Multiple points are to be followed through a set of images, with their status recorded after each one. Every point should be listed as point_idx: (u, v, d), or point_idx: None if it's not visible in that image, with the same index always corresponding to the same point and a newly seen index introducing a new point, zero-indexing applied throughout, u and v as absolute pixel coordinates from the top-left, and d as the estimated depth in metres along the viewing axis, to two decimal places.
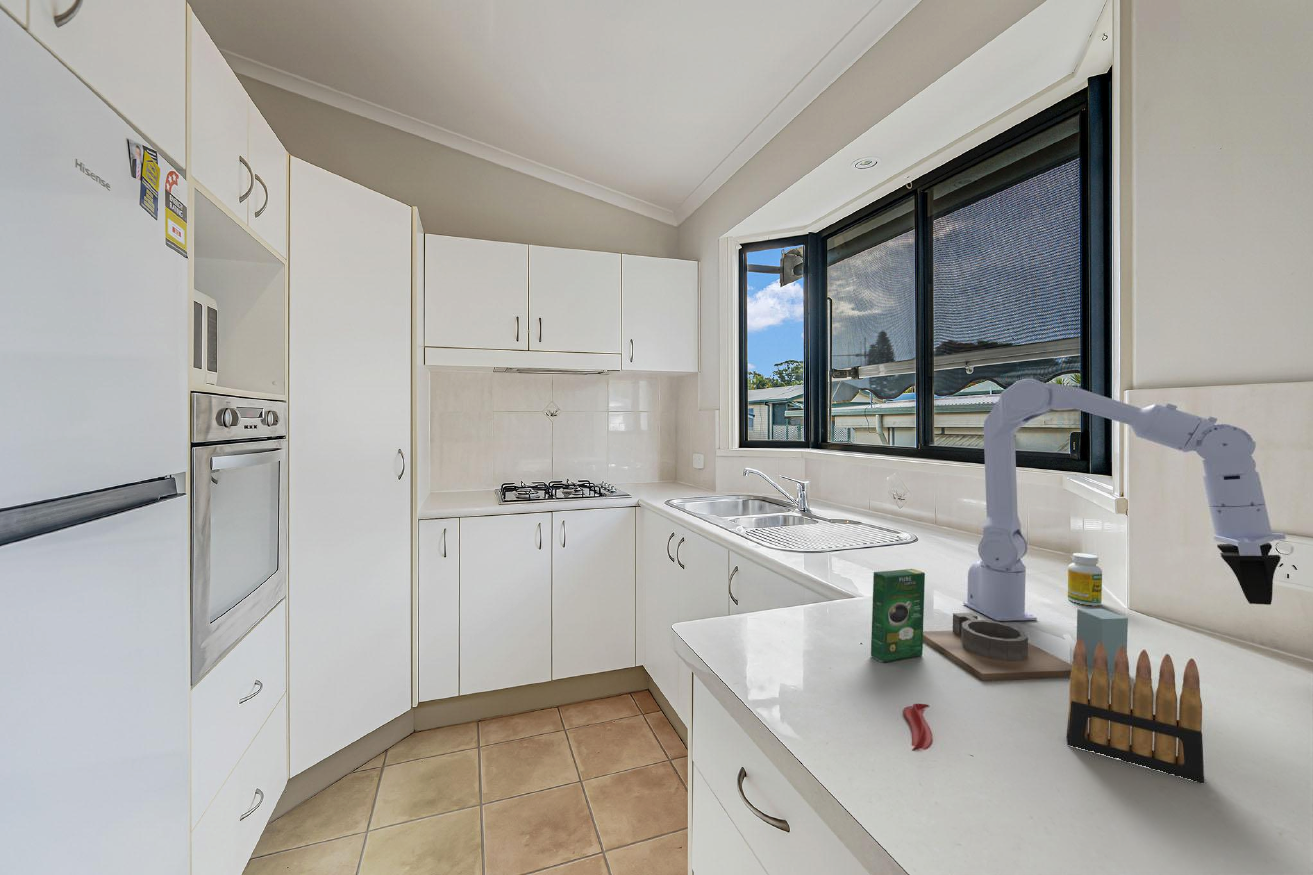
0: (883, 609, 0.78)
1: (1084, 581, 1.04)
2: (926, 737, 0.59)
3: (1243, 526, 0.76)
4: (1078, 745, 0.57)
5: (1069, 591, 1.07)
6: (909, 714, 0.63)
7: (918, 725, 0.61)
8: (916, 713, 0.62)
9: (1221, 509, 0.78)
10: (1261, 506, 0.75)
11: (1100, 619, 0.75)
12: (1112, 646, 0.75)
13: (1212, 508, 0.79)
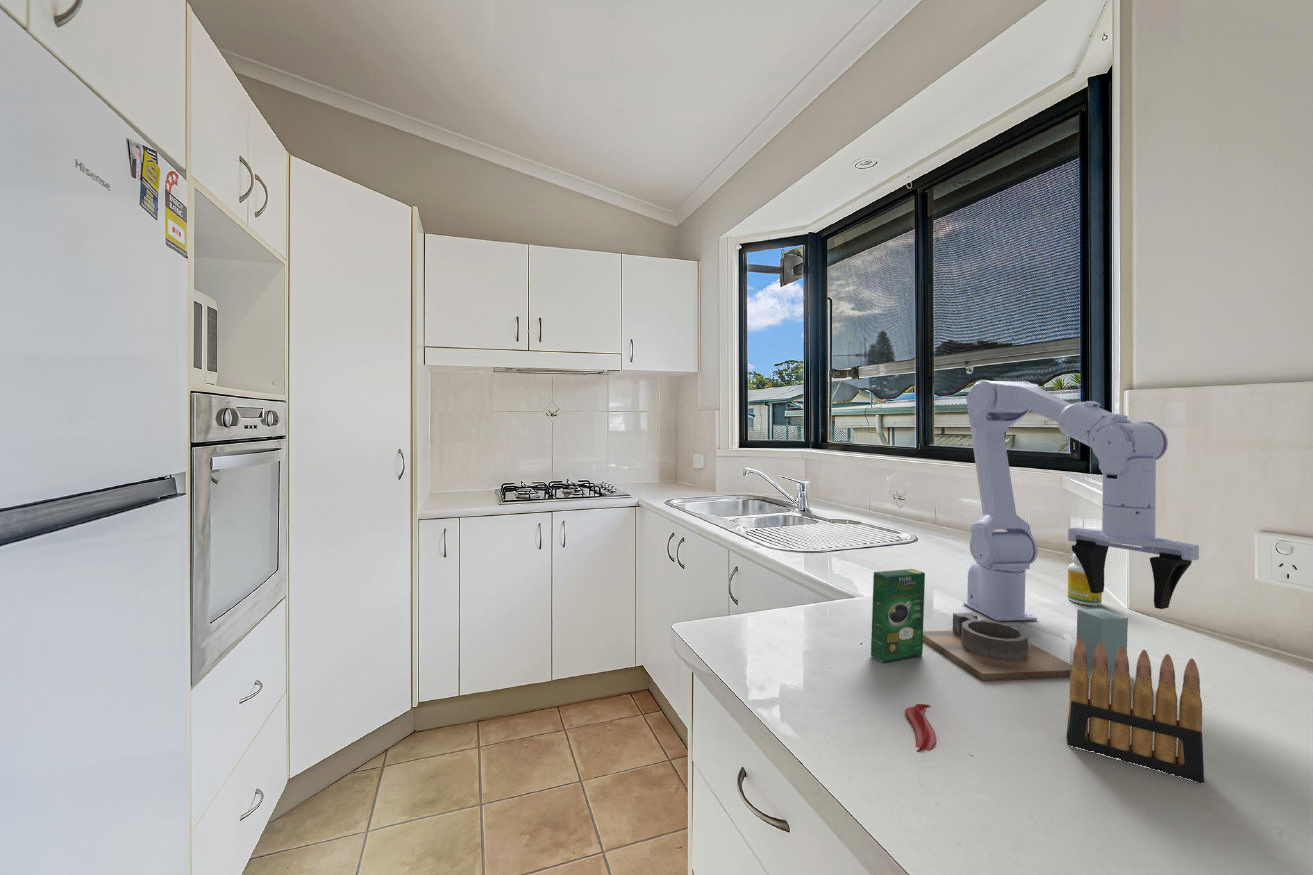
0: (883, 609, 0.78)
1: (1084, 581, 1.04)
2: (930, 738, 0.59)
3: None
4: (1078, 745, 0.57)
5: (1069, 591, 1.07)
6: (911, 715, 0.63)
7: (921, 725, 0.61)
8: (919, 714, 0.62)
9: None
10: (1105, 506, 0.76)
11: (1100, 619, 0.75)
12: (1112, 646, 0.75)
13: None
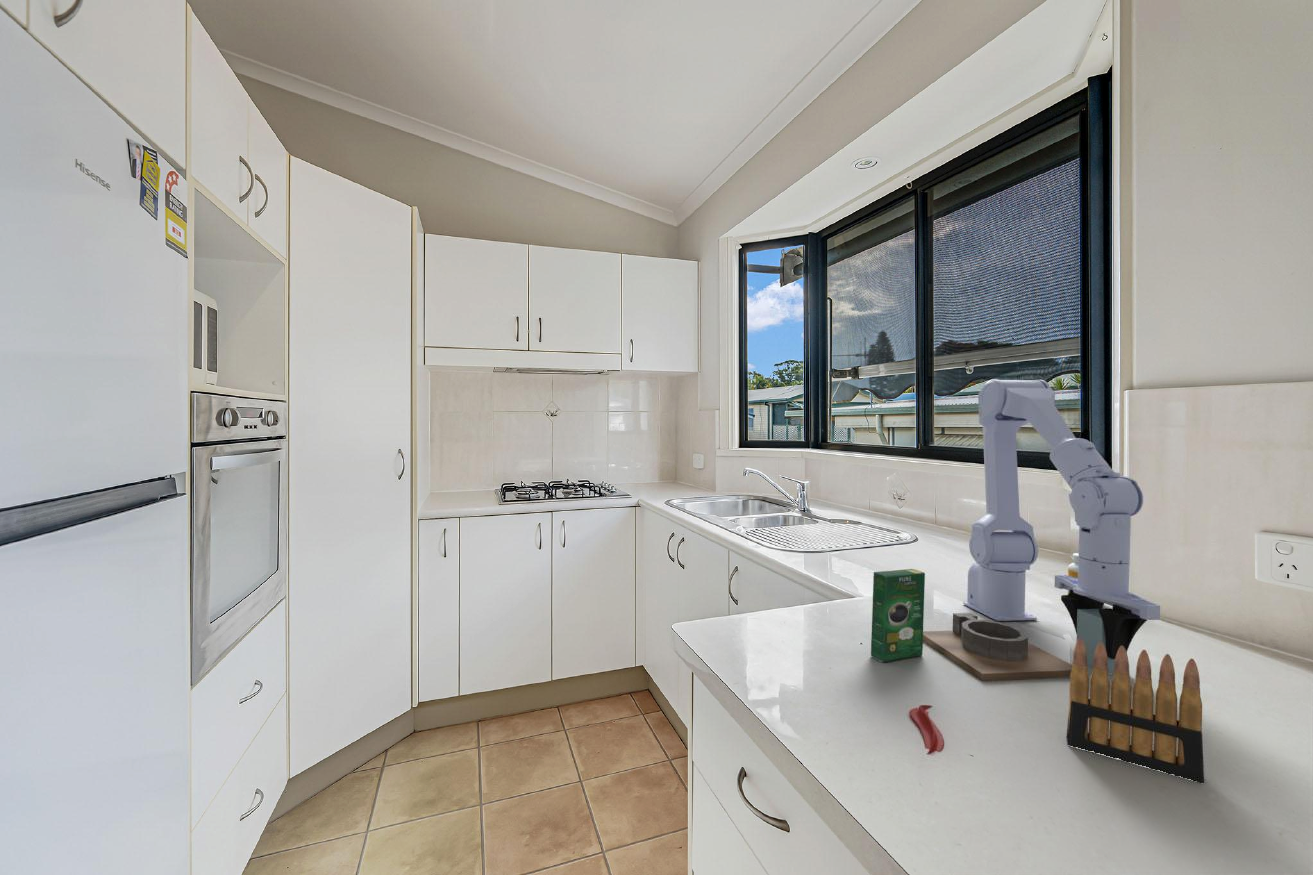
0: (883, 609, 0.78)
1: None
2: (938, 740, 0.58)
3: None
4: (1078, 745, 0.57)
5: None
6: (916, 717, 0.63)
7: (928, 727, 0.61)
8: (924, 715, 0.62)
9: None
10: (1078, 558, 0.78)
11: (1100, 619, 0.75)
12: None
13: None
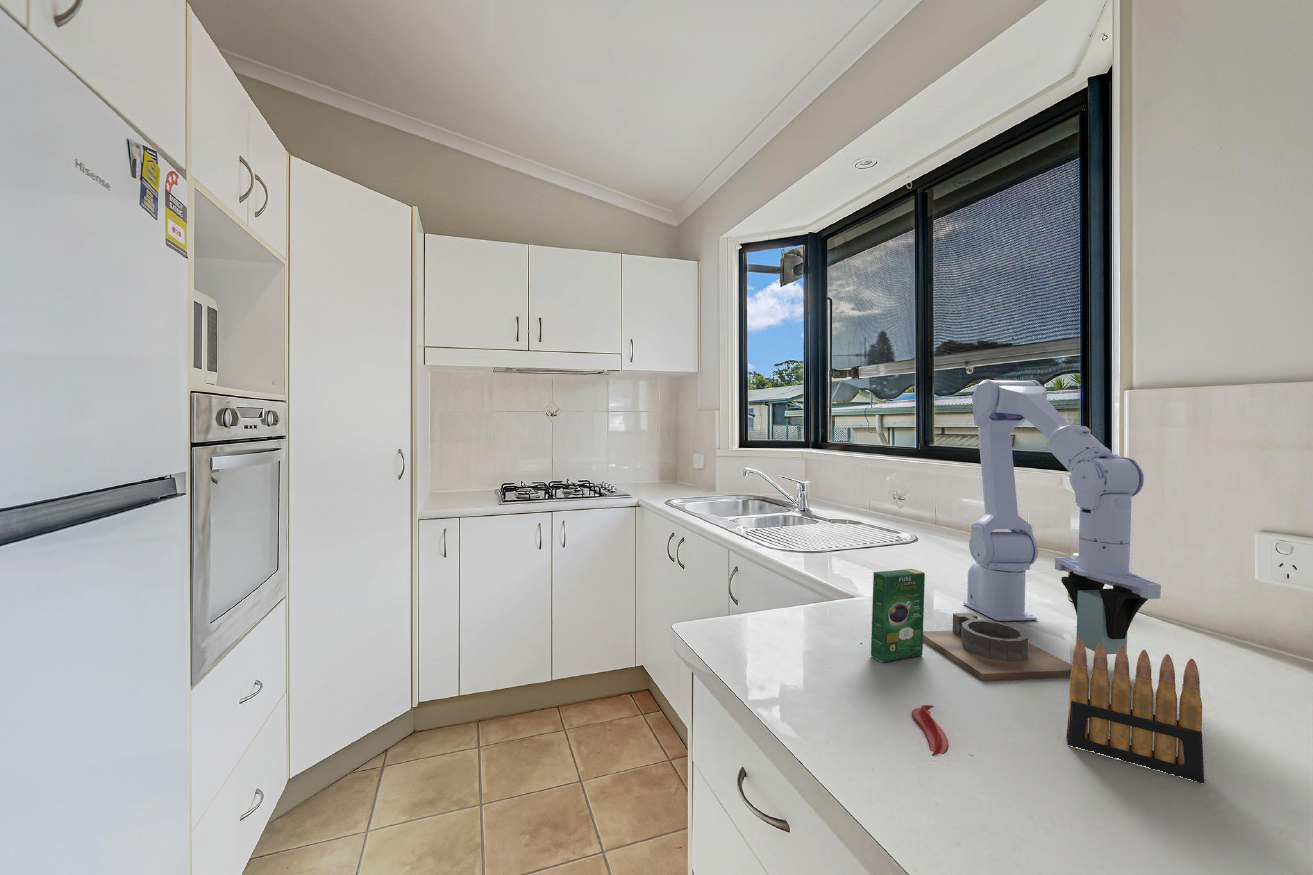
0: (883, 609, 0.78)
1: None
2: (942, 740, 0.58)
3: None
4: (1078, 745, 0.57)
5: None
6: (919, 717, 0.63)
7: (931, 727, 0.60)
8: (927, 716, 0.62)
9: None
10: (1079, 539, 0.78)
11: (1101, 599, 0.75)
12: None
13: None
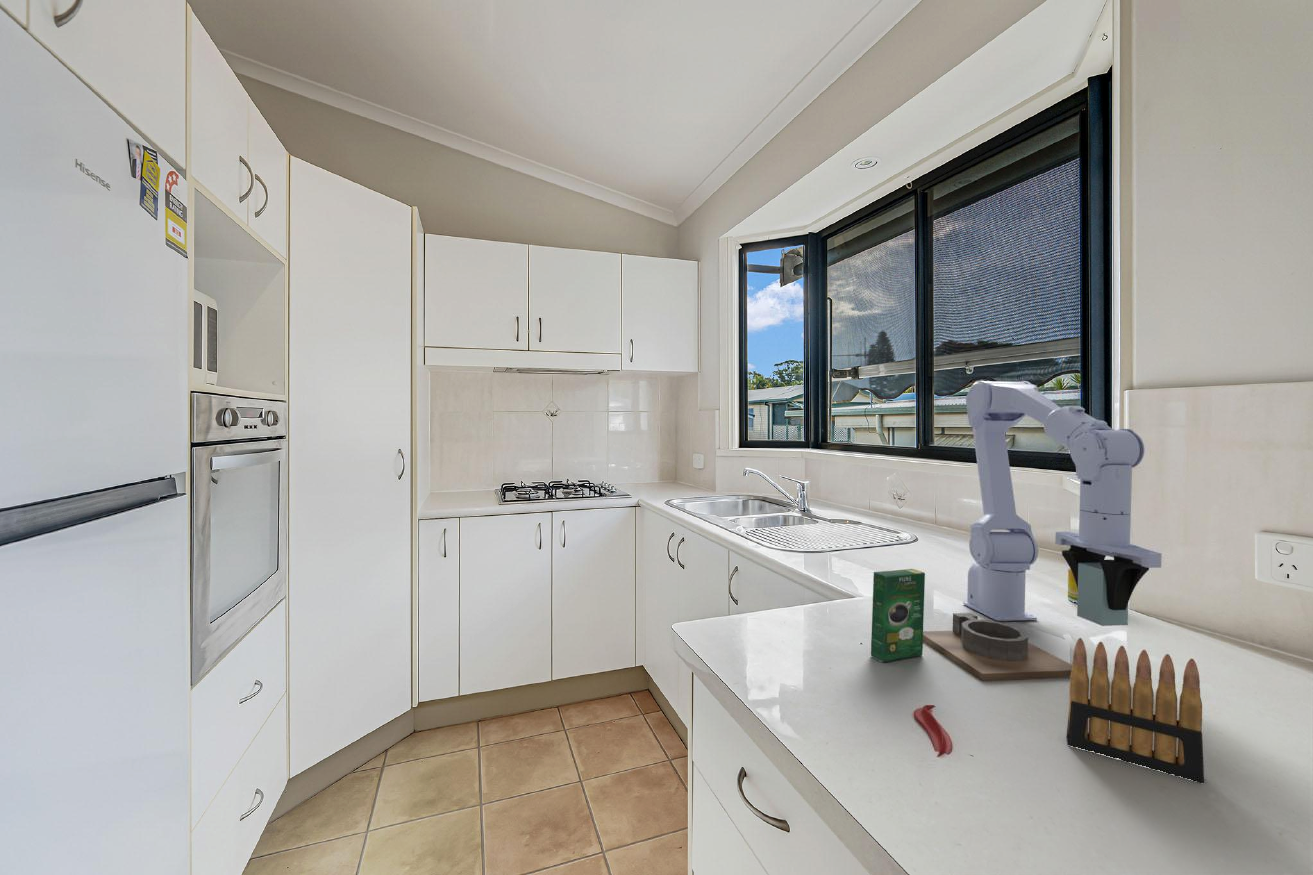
0: (883, 609, 0.78)
1: None
2: (946, 741, 0.58)
3: None
4: (1078, 745, 0.57)
5: (1069, 591, 1.07)
6: (921, 717, 0.63)
7: (934, 728, 0.60)
8: (930, 716, 0.62)
9: None
10: (1079, 511, 0.78)
11: (1101, 571, 0.75)
12: None
13: None
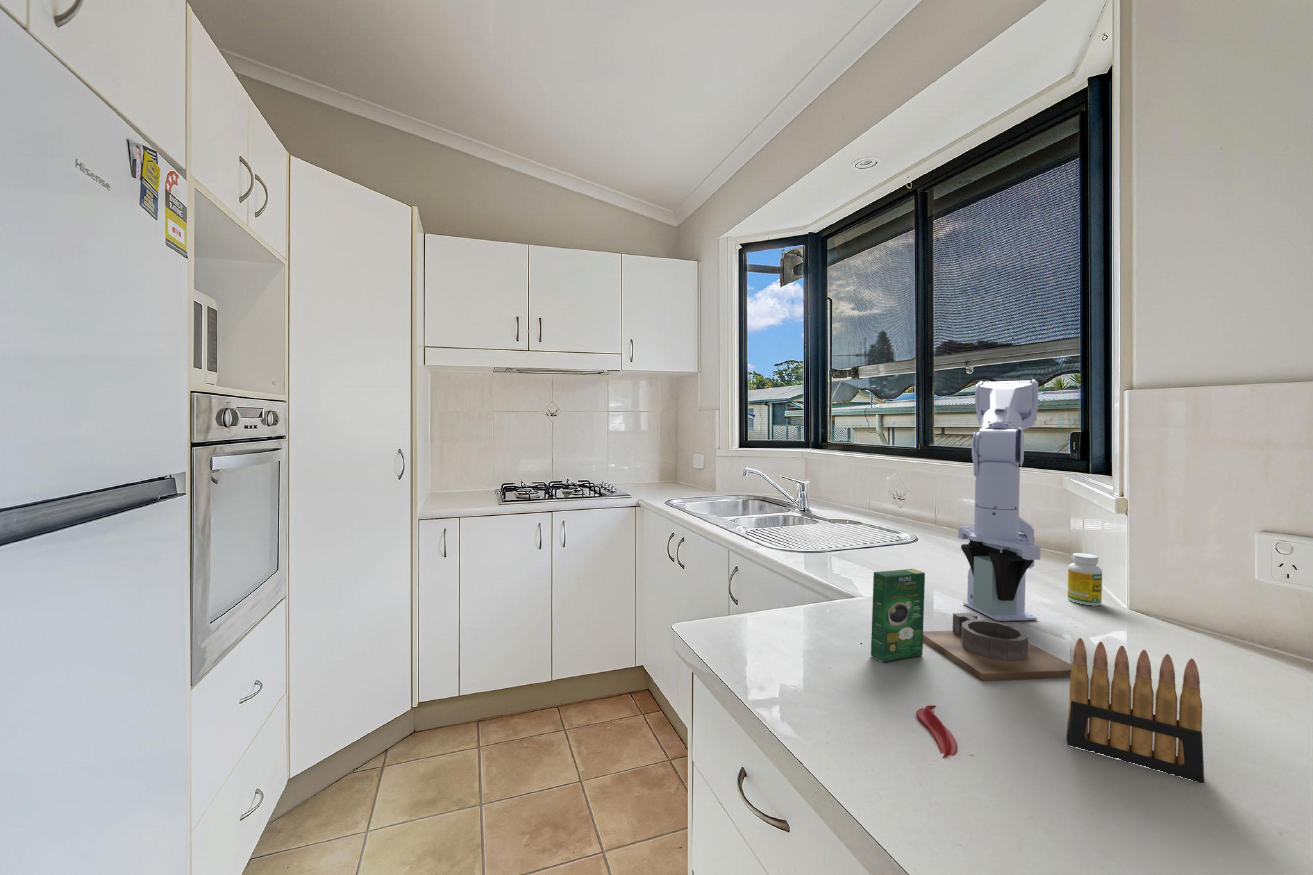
0: (883, 609, 0.78)
1: (1084, 581, 1.04)
2: (950, 741, 0.58)
3: None
4: (1078, 745, 0.57)
5: (1069, 591, 1.07)
6: (924, 718, 0.63)
7: (938, 729, 0.60)
8: (933, 717, 0.61)
9: None
10: None
11: (991, 563, 0.79)
12: None
13: None
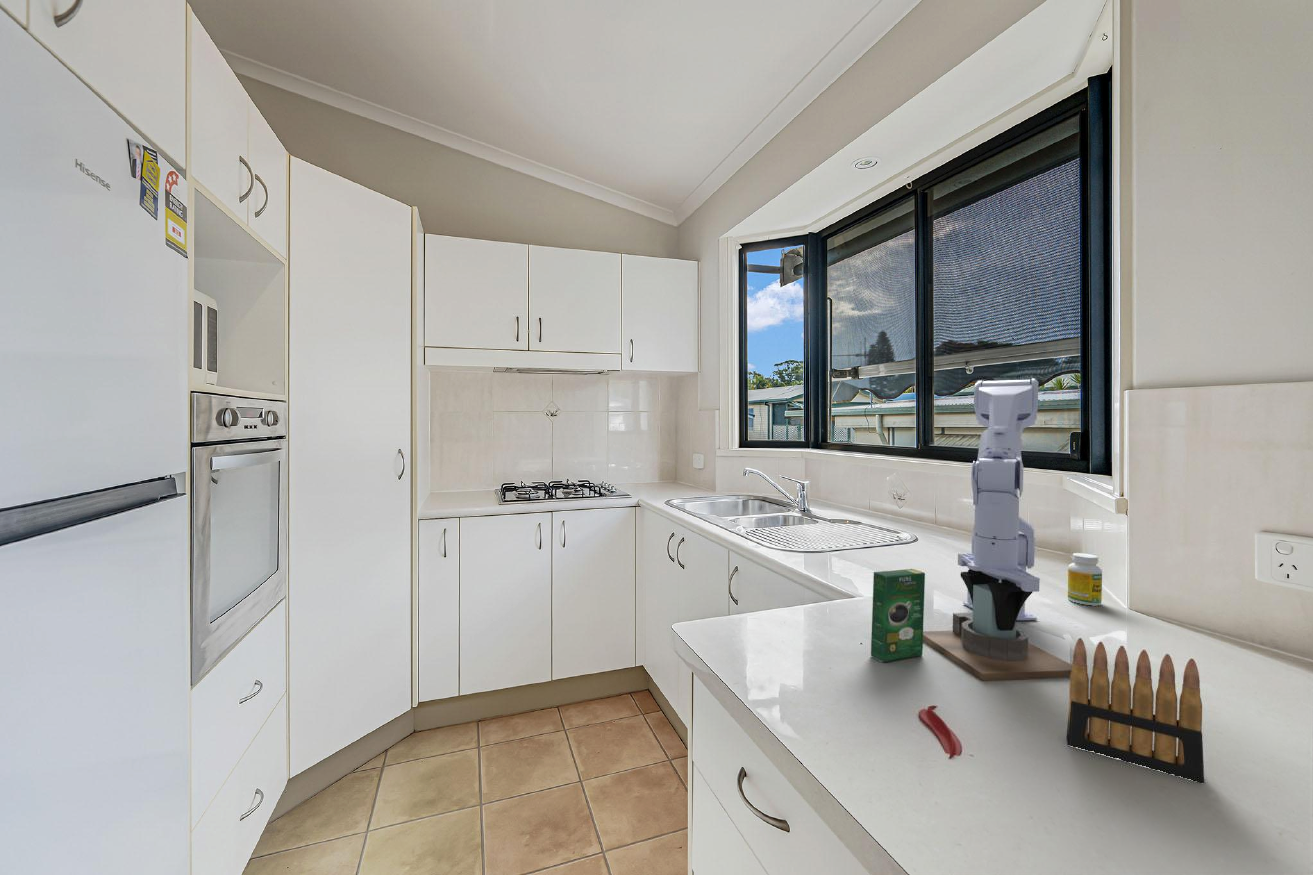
0: (883, 609, 0.78)
1: (1084, 581, 1.04)
2: (955, 742, 0.58)
3: None
4: (1078, 745, 0.57)
5: (1069, 591, 1.07)
6: (927, 719, 0.62)
7: (942, 729, 0.60)
8: (936, 717, 0.61)
9: None
10: (974, 535, 0.82)
11: (990, 593, 0.79)
12: None
13: None
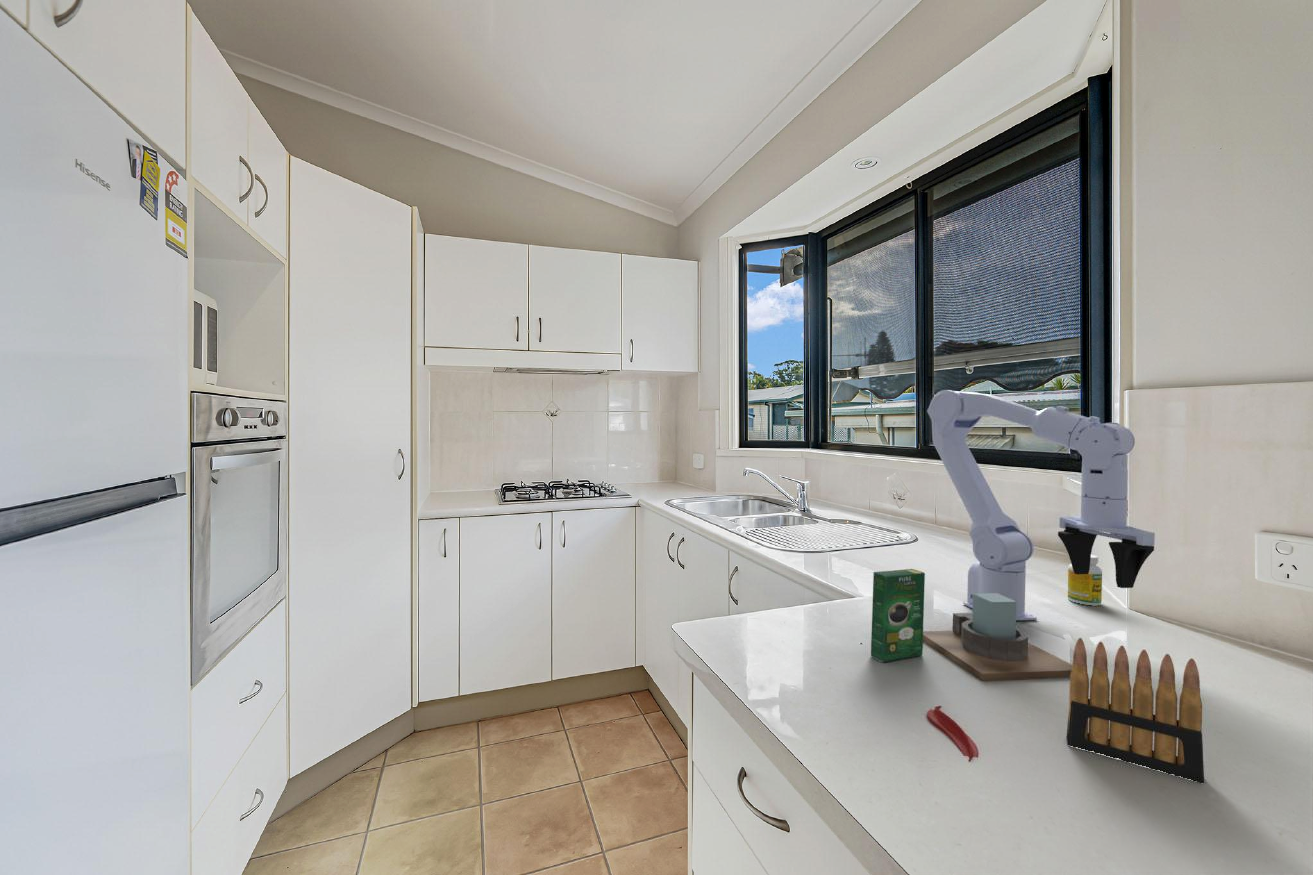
0: (883, 609, 0.78)
1: (1084, 581, 1.04)
2: (970, 743, 0.58)
3: None
4: (1078, 745, 0.57)
5: (1069, 591, 1.07)
6: (937, 720, 0.62)
7: (955, 731, 0.60)
8: (947, 719, 0.61)
9: None
10: (1081, 497, 0.87)
11: (990, 602, 0.79)
12: (1001, 628, 0.79)
13: None
